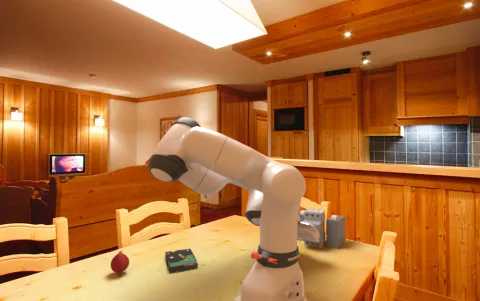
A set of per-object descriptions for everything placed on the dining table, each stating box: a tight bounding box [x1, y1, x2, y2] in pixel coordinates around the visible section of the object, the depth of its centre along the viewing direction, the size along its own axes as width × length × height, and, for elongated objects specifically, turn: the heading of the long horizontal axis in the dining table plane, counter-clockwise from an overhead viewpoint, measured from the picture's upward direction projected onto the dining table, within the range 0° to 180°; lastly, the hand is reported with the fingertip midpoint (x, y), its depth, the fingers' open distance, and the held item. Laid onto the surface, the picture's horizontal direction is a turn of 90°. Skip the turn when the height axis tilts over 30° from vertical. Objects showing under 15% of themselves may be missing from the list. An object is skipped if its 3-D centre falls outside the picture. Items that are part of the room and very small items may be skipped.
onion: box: [110, 250, 130, 275], centre depth 90 cm, size 6×6×8 cm
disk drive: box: [164, 248, 199, 274], centre depth 99 cm, size 10×3×15 cm
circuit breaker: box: [302, 207, 326, 249], centre depth 115 cm, size 8×14×15 cm, turn 151°
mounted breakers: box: [298, 209, 346, 250], centre depth 122 cm, size 10×20×13 cm, turn 51°
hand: (298, 238), depth 107 cm, fingers closed
